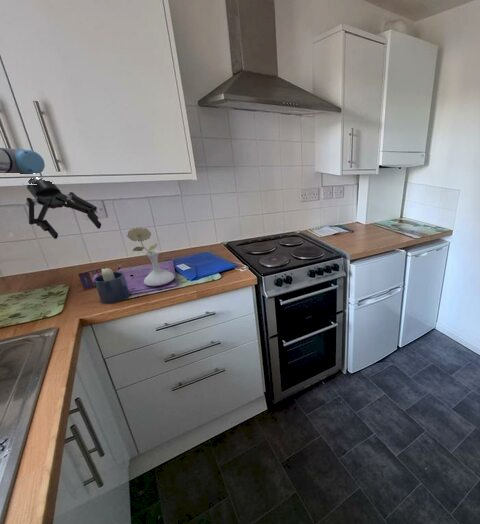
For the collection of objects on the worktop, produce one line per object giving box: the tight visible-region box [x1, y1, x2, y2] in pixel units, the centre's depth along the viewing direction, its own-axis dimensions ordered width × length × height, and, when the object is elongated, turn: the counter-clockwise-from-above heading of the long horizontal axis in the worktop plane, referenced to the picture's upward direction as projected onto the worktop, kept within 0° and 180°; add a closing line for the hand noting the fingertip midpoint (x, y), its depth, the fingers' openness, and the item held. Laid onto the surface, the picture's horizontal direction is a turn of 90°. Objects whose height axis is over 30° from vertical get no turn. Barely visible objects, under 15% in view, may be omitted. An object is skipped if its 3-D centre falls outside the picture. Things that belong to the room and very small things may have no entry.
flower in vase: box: [126, 226, 175, 287], centre depth 124 cm, size 13×11×25 cm
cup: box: [93, 271, 131, 304], centre depth 115 cm, size 9×9×9 cm
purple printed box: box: [77, 267, 106, 290], centre depth 126 cm, size 7×5×9 cm
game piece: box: [101, 267, 115, 281], centre depth 114 cm, size 5×5×12 cm
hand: (79, 231), depth 110 cm, fingers open, 13 cm apart
